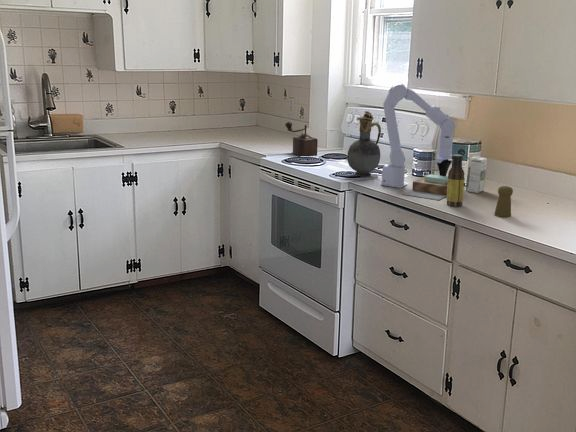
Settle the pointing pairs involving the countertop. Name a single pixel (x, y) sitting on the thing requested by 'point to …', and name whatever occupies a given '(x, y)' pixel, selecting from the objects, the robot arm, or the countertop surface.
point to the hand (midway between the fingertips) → (442, 176)
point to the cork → (504, 202)
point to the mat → (424, 195)
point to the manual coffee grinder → (303, 143)
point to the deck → (429, 187)
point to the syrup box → (476, 174)
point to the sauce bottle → (455, 182)
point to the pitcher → (364, 148)
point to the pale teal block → (436, 179)
